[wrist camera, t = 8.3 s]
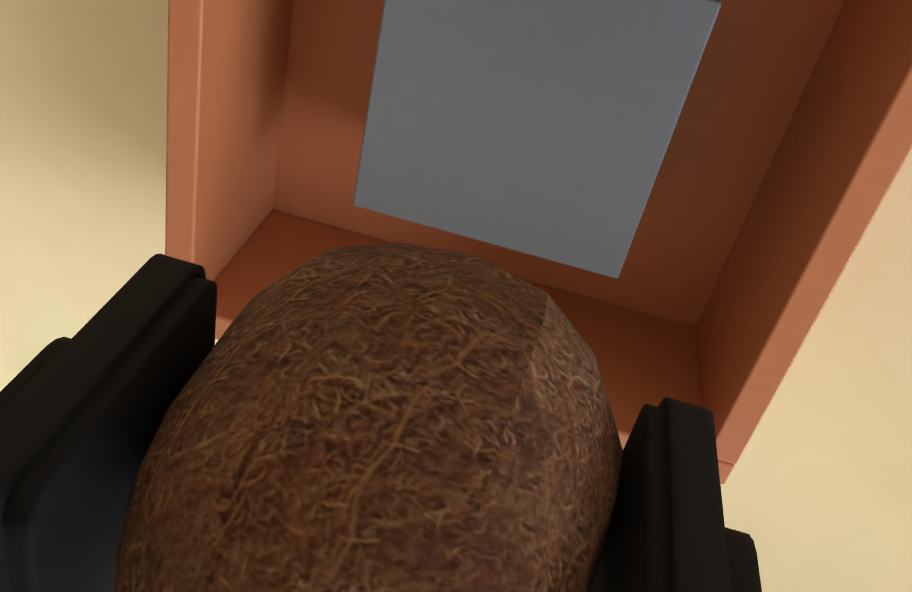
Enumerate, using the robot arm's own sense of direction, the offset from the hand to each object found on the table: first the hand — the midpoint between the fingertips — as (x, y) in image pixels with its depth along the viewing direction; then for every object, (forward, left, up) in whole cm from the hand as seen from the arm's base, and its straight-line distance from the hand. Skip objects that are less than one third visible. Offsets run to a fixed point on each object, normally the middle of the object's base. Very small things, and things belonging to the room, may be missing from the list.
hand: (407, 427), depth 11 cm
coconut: (0, 0, -3) cm, 3 cm away
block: (0, 0, -15) cm, 15 cm away
